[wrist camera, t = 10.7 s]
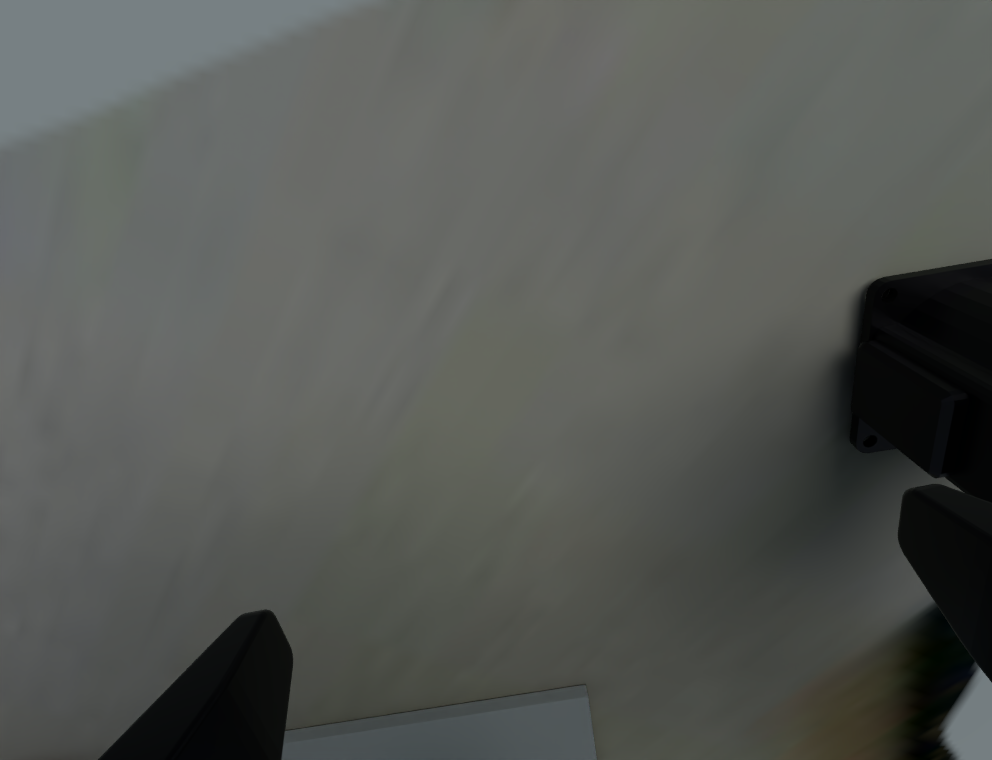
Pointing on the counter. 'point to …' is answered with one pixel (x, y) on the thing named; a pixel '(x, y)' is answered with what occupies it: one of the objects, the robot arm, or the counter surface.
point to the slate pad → (460, 732)
